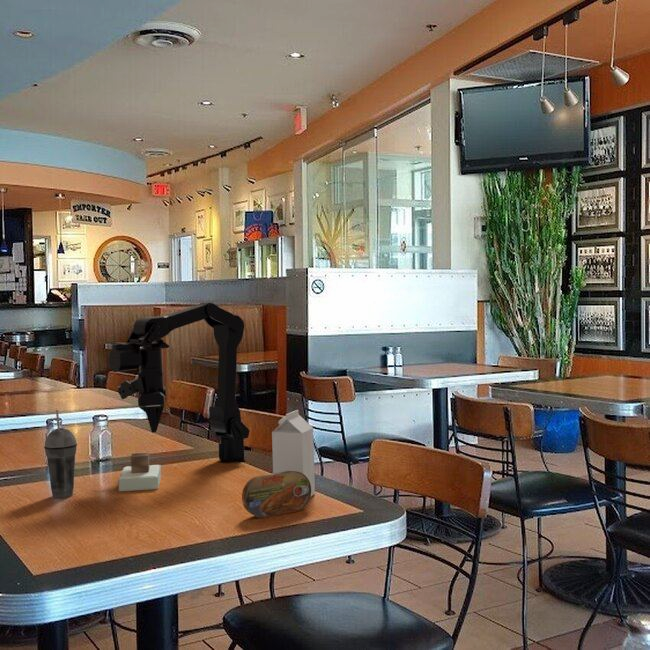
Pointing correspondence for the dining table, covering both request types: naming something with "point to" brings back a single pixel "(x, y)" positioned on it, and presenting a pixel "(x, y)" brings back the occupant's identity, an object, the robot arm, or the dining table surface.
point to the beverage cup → (61, 460)
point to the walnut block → (140, 463)
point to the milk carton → (294, 447)
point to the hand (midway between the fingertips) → (154, 429)
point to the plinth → (140, 479)
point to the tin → (276, 494)
